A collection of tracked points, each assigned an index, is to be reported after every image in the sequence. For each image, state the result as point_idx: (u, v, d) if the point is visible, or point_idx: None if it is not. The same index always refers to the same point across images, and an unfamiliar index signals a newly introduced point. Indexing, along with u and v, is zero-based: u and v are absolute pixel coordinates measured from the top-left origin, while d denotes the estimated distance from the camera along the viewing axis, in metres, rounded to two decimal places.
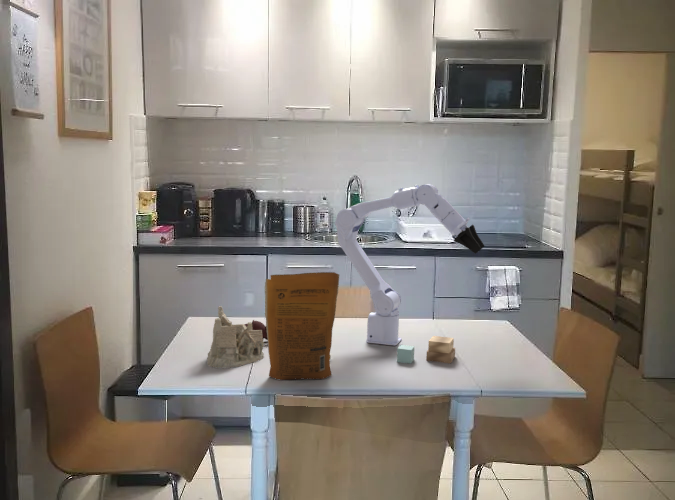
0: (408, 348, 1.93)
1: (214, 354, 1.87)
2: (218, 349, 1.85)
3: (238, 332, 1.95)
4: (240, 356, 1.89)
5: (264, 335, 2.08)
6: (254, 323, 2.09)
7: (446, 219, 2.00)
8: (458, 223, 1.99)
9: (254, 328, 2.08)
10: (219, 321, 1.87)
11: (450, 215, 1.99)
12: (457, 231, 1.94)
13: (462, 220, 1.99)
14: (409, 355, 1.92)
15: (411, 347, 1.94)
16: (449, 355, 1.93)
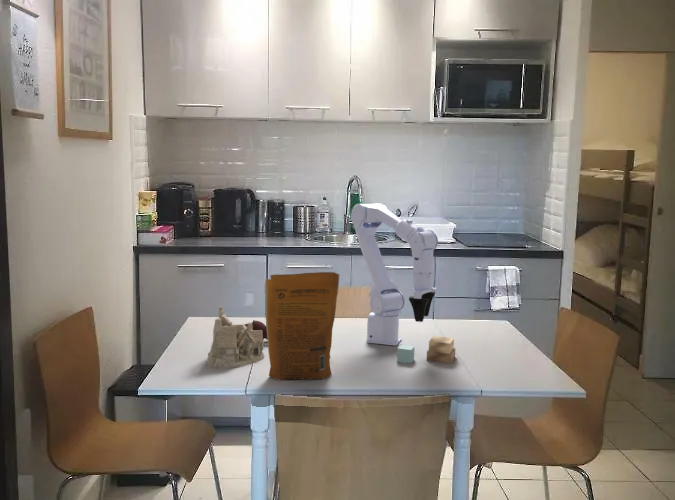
0: (408, 348, 1.93)
1: (214, 354, 1.87)
2: (218, 349, 1.85)
3: (238, 332, 1.94)
4: (240, 356, 1.89)
5: (265, 335, 2.09)
6: (255, 323, 2.09)
7: (419, 276, 1.97)
8: (424, 287, 1.97)
9: (254, 328, 2.08)
10: (219, 321, 1.87)
11: (424, 276, 1.96)
12: (417, 296, 1.93)
13: (429, 287, 1.97)
14: (409, 355, 1.92)
15: (411, 347, 1.94)
16: (449, 355, 1.93)
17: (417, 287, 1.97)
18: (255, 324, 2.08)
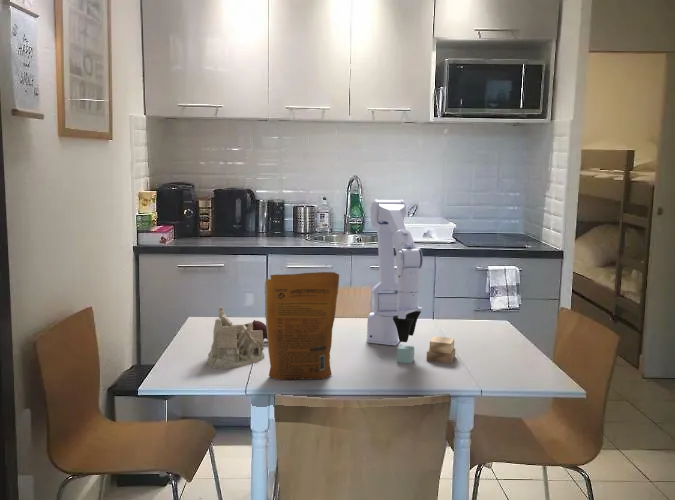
0: (408, 348, 1.93)
1: (214, 354, 1.87)
2: (219, 350, 1.85)
3: (238, 332, 1.94)
4: (241, 356, 1.89)
5: (265, 335, 2.09)
6: (255, 323, 2.09)
7: (403, 294, 1.90)
8: (409, 306, 1.90)
9: (255, 328, 2.08)
10: (220, 321, 1.87)
11: (409, 295, 1.89)
12: (401, 316, 1.86)
13: (414, 306, 1.90)
14: (409, 355, 1.92)
15: (411, 347, 1.94)
16: (449, 355, 1.93)
17: (402, 306, 1.90)
18: (255, 324, 2.08)
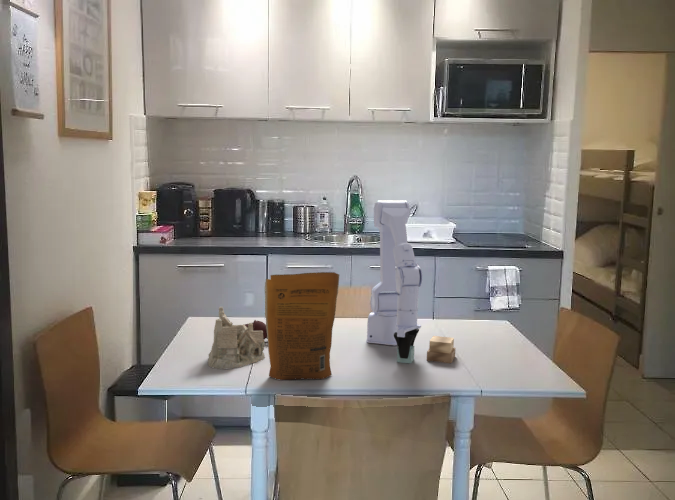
0: None
1: (215, 354, 1.87)
2: (219, 350, 1.85)
3: (239, 333, 1.94)
4: (241, 357, 1.89)
5: (265, 335, 2.09)
6: (256, 323, 2.09)
7: (403, 312, 1.90)
8: (408, 324, 1.90)
9: (255, 328, 2.08)
10: (220, 322, 1.87)
11: (409, 313, 1.90)
12: (401, 334, 1.87)
13: (414, 324, 1.91)
14: (409, 355, 1.92)
15: (411, 347, 1.94)
16: (449, 355, 1.93)
17: (401, 324, 1.91)
18: (256, 324, 2.09)
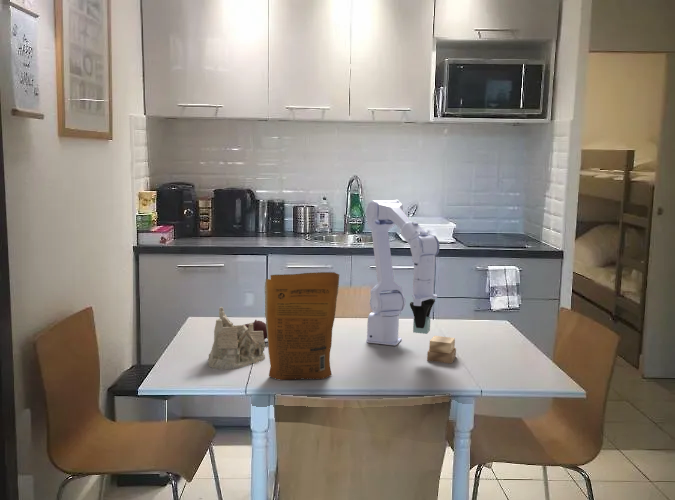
0: None
1: (215, 355, 1.86)
2: (219, 350, 1.84)
3: (239, 333, 1.94)
4: (241, 357, 1.88)
5: (266, 335, 2.09)
6: (256, 323, 2.09)
7: (419, 282, 1.90)
8: (425, 294, 1.90)
9: (256, 328, 2.08)
10: (220, 322, 1.86)
11: (425, 282, 1.90)
12: (417, 303, 1.87)
13: (430, 294, 1.91)
14: (425, 325, 1.92)
15: (427, 317, 1.94)
16: (450, 355, 1.93)
17: (417, 294, 1.91)
18: (257, 324, 2.09)
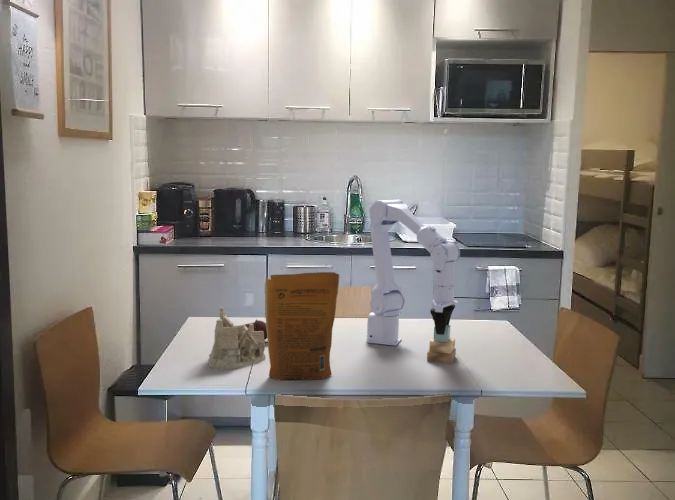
0: None
1: (215, 355, 1.86)
2: (220, 350, 1.84)
3: (239, 333, 1.93)
4: (242, 357, 1.88)
5: None
6: (257, 323, 2.09)
7: (440, 288, 1.92)
8: (445, 300, 1.92)
9: (256, 328, 2.08)
10: (221, 322, 1.86)
11: (446, 288, 1.92)
12: (439, 309, 1.88)
13: (451, 300, 1.93)
14: (446, 334, 1.94)
15: (447, 326, 1.96)
16: (450, 356, 1.93)
17: (438, 300, 1.93)
18: (257, 324, 2.09)
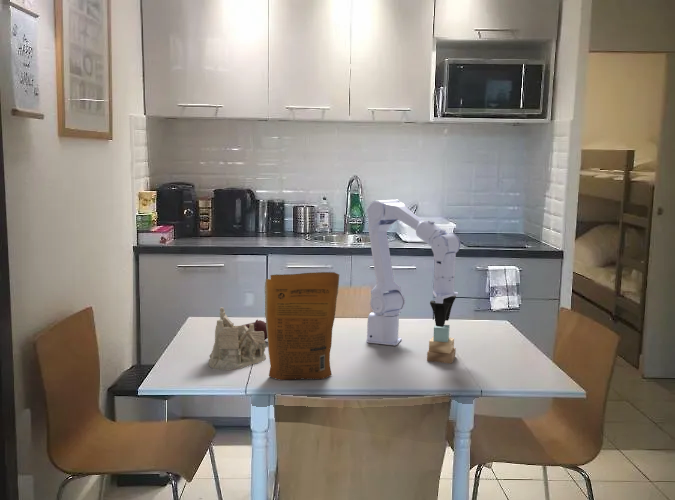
0: (444, 327, 1.95)
1: (216, 355, 1.86)
2: (220, 351, 1.84)
3: (240, 333, 1.93)
4: (242, 358, 1.88)
5: None
6: (257, 323, 2.09)
7: (440, 279, 1.92)
8: (446, 291, 1.92)
9: (257, 328, 2.08)
10: (221, 322, 1.86)
11: (446, 280, 1.91)
12: (439, 300, 1.88)
13: (451, 291, 1.93)
14: (446, 334, 1.94)
15: (447, 326, 1.96)
16: (450, 355, 1.93)
17: (438, 291, 1.93)
18: (258, 324, 2.09)
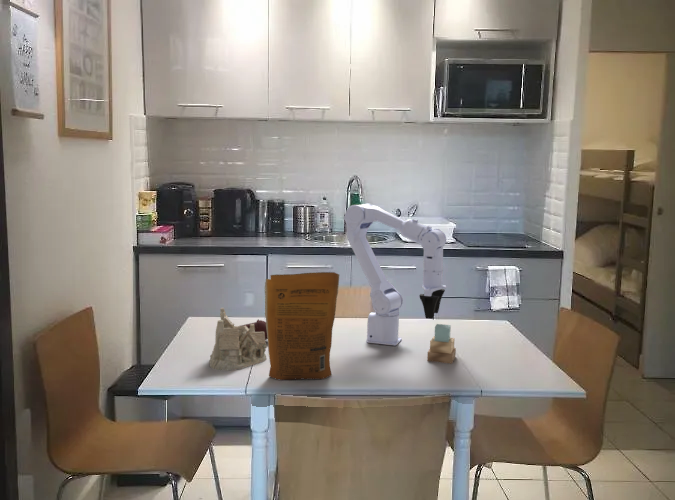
0: (445, 327, 1.95)
1: (216, 356, 1.85)
2: (221, 351, 1.84)
3: (240, 334, 1.93)
4: (243, 358, 1.88)
5: None
6: (258, 323, 2.09)
7: (429, 274, 2.01)
8: (434, 285, 2.01)
9: (258, 328, 2.08)
10: (222, 323, 1.86)
11: (434, 274, 2.00)
12: (428, 293, 1.97)
13: (439, 285, 2.02)
14: (447, 333, 1.94)
15: (448, 326, 1.96)
16: (450, 355, 1.93)
17: (427, 285, 2.01)
18: (259, 324, 2.09)
